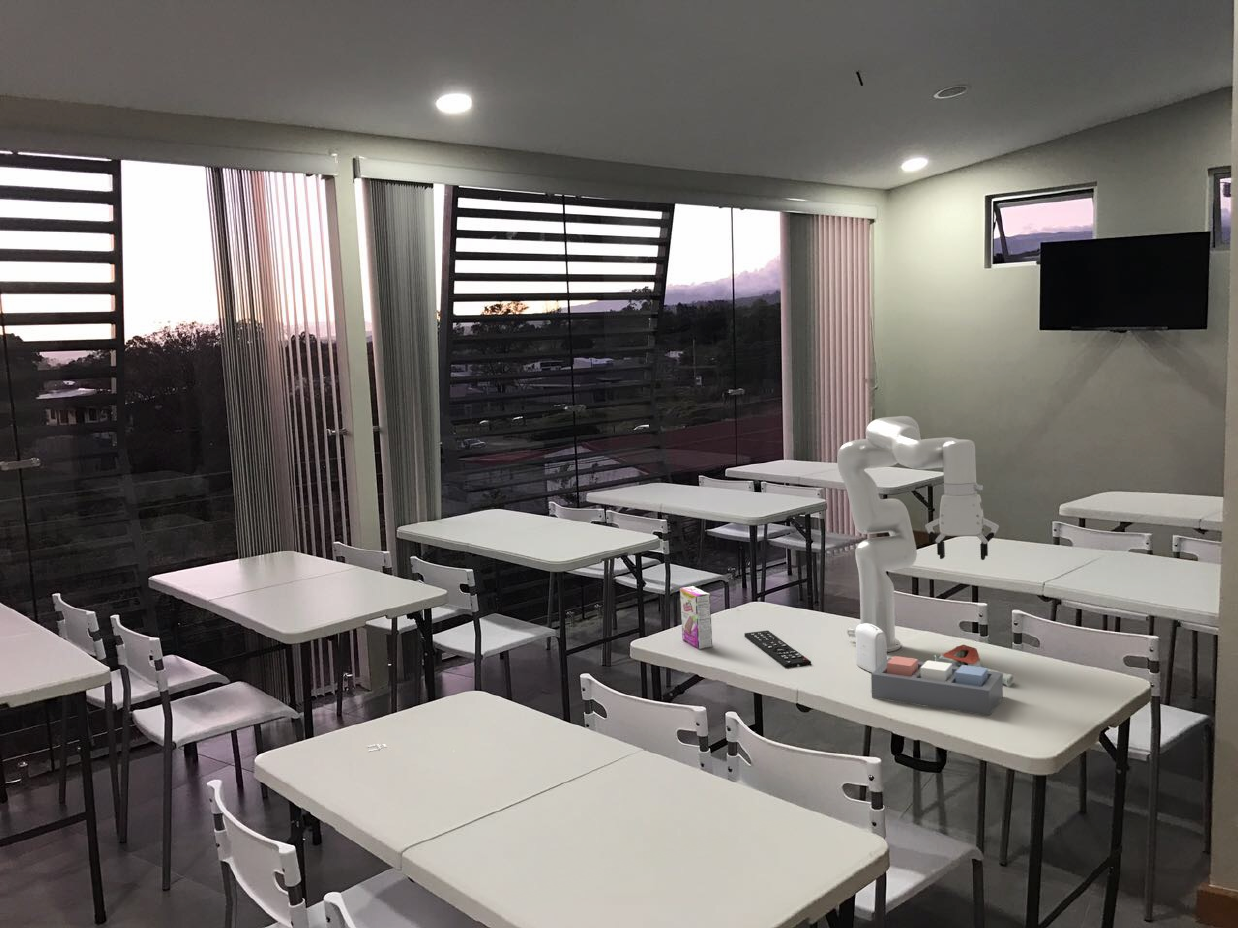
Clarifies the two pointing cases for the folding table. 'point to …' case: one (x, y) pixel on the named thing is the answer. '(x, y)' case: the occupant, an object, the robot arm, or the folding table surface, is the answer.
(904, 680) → the key panel
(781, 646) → the remote control
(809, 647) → the folding table surface
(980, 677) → the blue key
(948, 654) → the tape dispenser
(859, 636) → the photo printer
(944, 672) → the white key
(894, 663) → the red key
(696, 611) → the candy bar box
